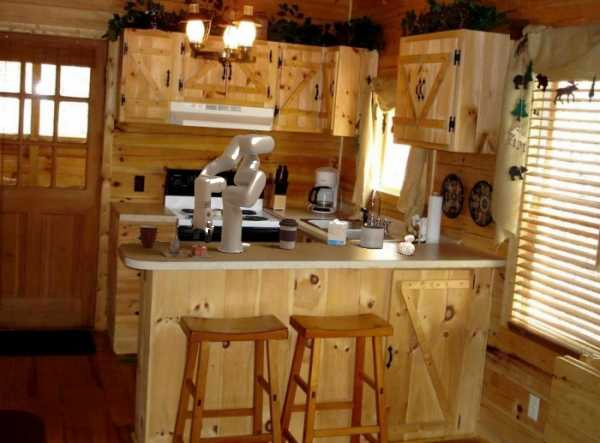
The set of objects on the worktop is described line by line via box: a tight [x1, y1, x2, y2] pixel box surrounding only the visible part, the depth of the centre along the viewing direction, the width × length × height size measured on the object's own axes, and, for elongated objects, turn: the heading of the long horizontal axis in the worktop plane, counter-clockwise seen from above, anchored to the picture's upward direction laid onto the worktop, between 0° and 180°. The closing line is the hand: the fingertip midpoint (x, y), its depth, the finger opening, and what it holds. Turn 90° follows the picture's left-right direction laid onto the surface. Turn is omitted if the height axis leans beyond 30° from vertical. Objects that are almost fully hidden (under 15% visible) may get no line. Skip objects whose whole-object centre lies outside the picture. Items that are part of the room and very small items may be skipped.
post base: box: [160, 238, 189, 258], centre depth 375 cm, size 10×10×7 cm
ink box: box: [326, 218, 348, 246], centre depth 442 cm, size 9×8×13 cm
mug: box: [139, 224, 158, 249], centre depth 389 cm, size 11×8×10 cm
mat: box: [187, 253, 211, 259], centre depth 378 cm, size 8×8×1 cm
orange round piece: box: [190, 244, 208, 256], centre depth 378 cm, size 7×7×5 cm
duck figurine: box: [397, 234, 416, 256], centre depth 426 cm, size 12×8×11 cm
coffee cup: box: [278, 218, 299, 250], centre depth 416 cm, size 10×10×15 cm
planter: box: [359, 224, 385, 250], centre depth 441 cm, size 12×13×11 cm
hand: (201, 240), depth 378 cm, fingers open, 9 cm apart
